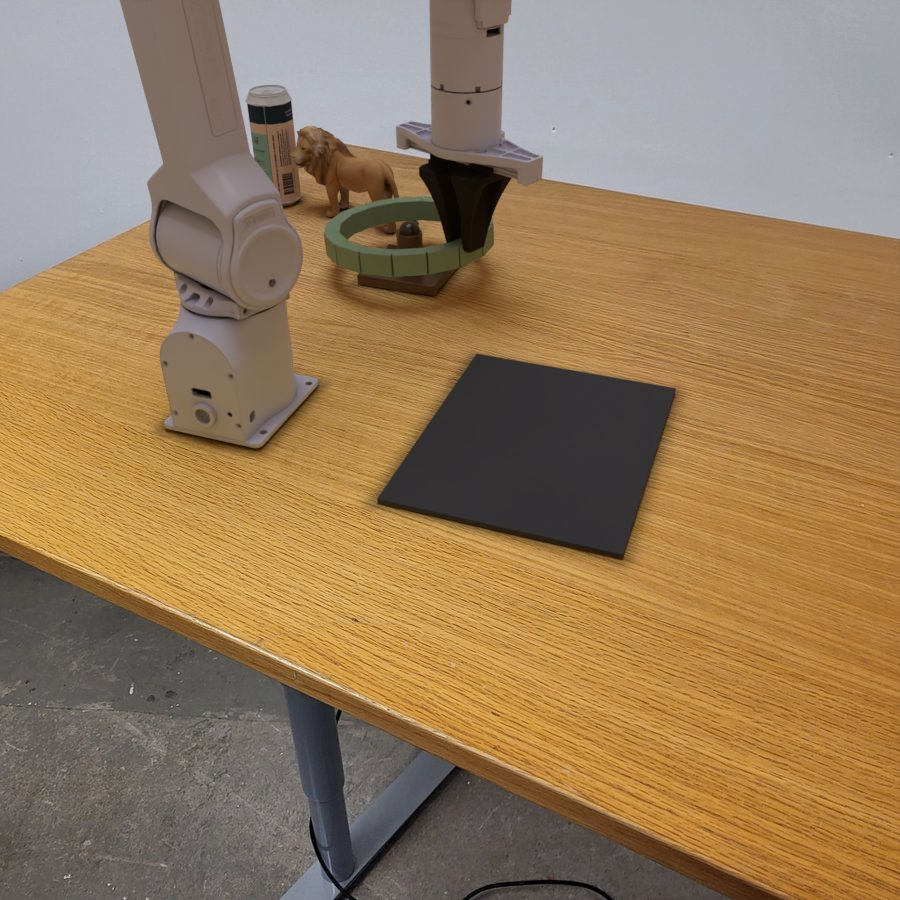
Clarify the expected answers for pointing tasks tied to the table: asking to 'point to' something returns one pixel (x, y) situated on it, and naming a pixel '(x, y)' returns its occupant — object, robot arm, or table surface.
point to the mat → (537, 454)
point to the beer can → (274, 138)
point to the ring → (398, 259)
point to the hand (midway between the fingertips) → (465, 245)
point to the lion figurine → (342, 170)
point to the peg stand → (421, 284)
